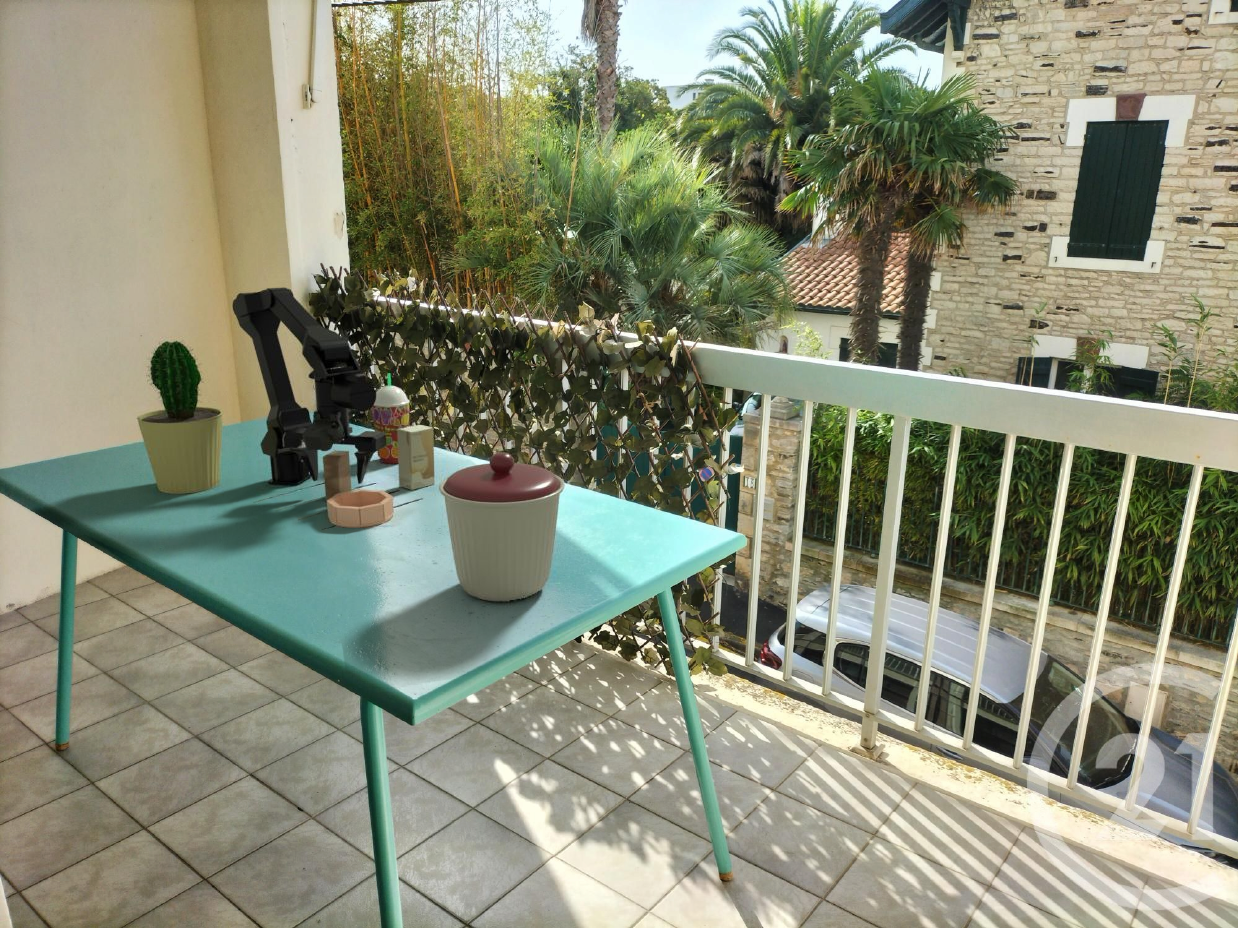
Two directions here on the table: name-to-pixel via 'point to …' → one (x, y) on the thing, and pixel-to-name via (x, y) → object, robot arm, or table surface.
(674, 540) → the table surface
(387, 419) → the smoothie
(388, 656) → the table surface
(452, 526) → the canister
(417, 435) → the skincare box
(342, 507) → the peach octagonal dish
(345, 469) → the tall tan cardboard carton
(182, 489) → the potted cactus
